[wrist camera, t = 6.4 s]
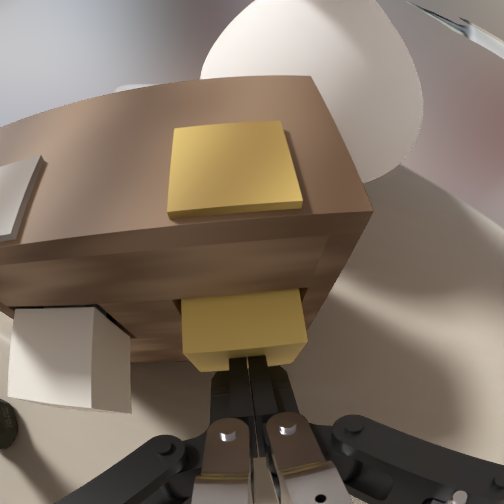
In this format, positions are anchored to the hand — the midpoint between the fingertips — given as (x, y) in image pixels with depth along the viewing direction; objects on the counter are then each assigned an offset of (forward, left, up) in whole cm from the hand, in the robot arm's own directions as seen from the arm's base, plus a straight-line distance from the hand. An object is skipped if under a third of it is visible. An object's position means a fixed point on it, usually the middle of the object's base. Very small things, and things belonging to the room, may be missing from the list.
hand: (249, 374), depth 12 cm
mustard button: (0, +4, -2) cm, 4 cm away
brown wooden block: (-4, +6, -9) cm, 11 cm away
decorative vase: (+7, +20, -9) cm, 23 cm away
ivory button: (-8, +1, -2) cm, 8 cm away
